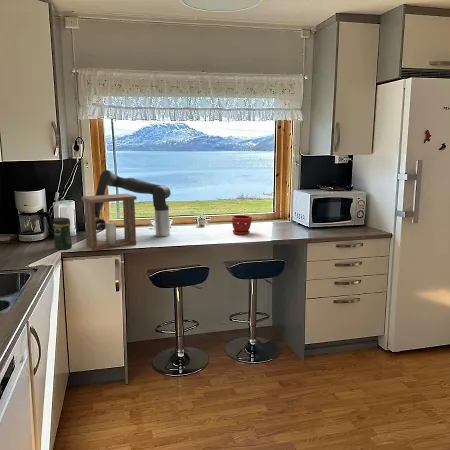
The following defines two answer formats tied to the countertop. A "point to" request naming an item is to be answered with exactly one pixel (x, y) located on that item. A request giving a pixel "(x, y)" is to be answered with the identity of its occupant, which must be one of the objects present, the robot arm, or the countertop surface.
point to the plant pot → (241, 224)
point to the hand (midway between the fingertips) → (106, 228)
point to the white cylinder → (110, 233)
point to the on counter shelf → (128, 220)
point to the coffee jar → (62, 233)
